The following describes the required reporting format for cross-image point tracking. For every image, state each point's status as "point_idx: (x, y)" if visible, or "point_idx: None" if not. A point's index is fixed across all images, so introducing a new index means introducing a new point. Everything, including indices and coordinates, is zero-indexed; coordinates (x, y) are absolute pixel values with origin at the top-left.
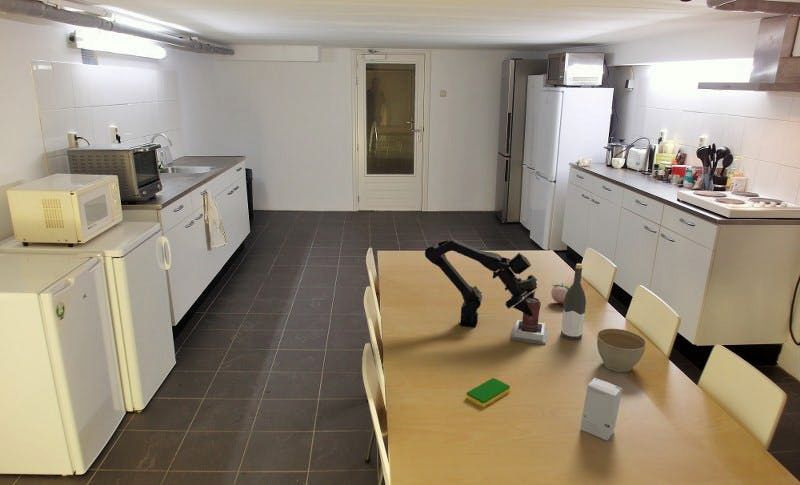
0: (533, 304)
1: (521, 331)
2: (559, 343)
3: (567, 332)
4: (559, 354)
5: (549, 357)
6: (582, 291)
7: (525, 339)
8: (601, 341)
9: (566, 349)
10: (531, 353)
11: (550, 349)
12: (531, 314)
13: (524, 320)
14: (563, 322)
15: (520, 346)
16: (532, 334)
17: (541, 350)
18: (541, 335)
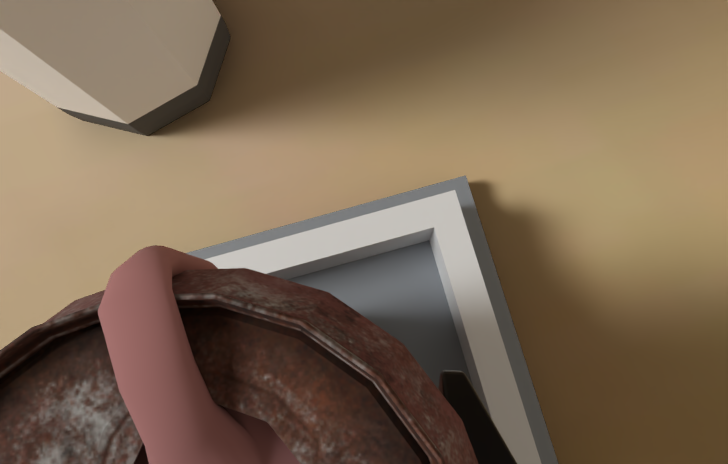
0: (441, 434)
1: (524, 458)
2: (354, 86)
3: (199, 28)
4: (566, 20)
5: (681, 69)
6: None
7: (526, 375)
8: None
9: (434, 3)
10: (721, 230)
11: (522, 112)
12: (473, 396)
13: None
14: (111, 37)
15: (652, 378)
16: (491, 312)
17: (596, 172)
18: (460, 211)
